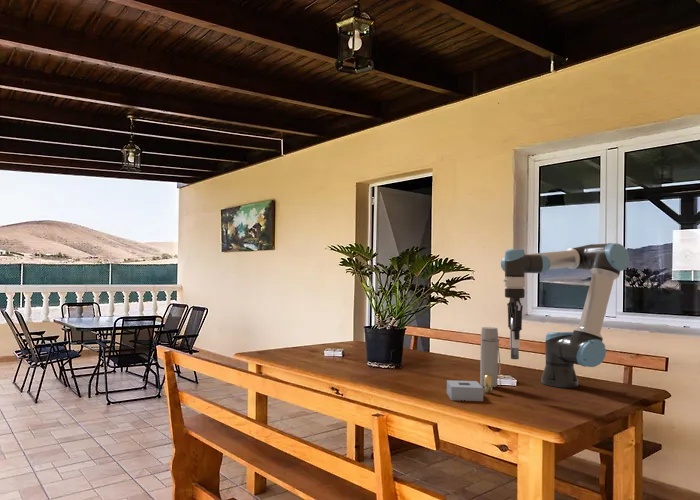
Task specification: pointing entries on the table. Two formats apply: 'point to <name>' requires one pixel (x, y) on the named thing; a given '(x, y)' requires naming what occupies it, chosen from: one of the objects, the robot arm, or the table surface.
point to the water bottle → (489, 355)
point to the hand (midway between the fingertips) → (514, 346)
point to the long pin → (513, 350)
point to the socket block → (464, 390)
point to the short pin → (488, 384)
